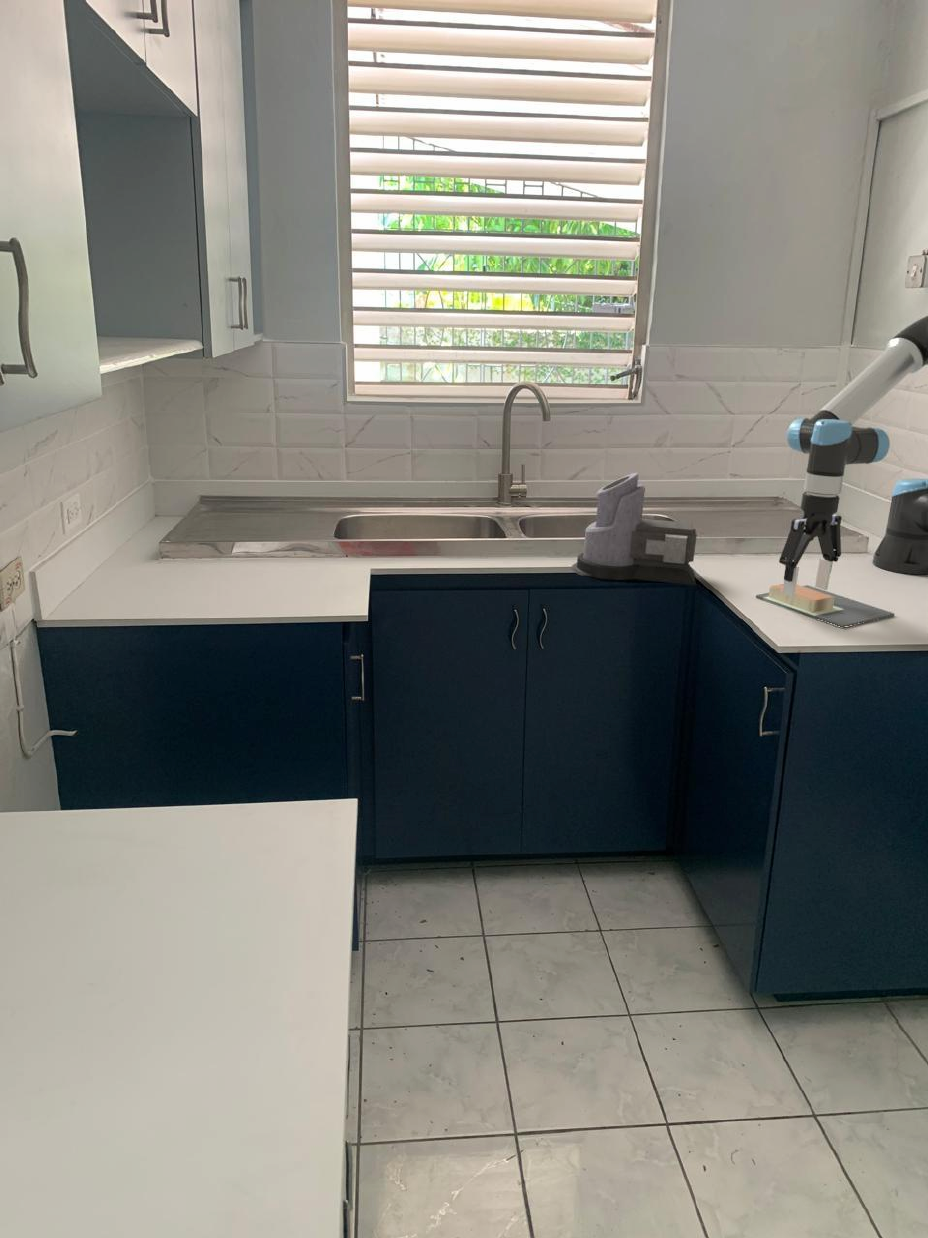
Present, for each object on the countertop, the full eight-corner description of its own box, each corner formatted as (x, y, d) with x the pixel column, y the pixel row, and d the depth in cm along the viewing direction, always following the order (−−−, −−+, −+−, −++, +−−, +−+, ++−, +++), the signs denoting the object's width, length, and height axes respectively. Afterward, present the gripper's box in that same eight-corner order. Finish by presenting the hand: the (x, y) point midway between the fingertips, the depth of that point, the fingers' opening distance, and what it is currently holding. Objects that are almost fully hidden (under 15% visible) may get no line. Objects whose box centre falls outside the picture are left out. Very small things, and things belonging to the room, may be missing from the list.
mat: (807, 587, 222) (807, 585, 222) (894, 616, 204) (894, 613, 204) (755, 597, 213) (756, 595, 213) (842, 628, 195) (842, 625, 195)
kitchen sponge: (790, 582, 214) (835, 596, 205) (789, 593, 215) (832, 608, 206) (770, 586, 211) (814, 601, 201) (768, 597, 212) (812, 612, 202)
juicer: (568, 575, 224) (576, 474, 216) (574, 558, 239) (582, 463, 231) (696, 588, 219) (709, 484, 211) (694, 569, 234) (706, 472, 226)
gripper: (840, 486, 209) (824, 580, 216) (771, 493, 197) (756, 593, 204) (869, 492, 203) (852, 589, 210) (800, 501, 191) (784, 603, 198)
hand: (804, 591), depth 207 cm, fingers open, 10 cm apart
